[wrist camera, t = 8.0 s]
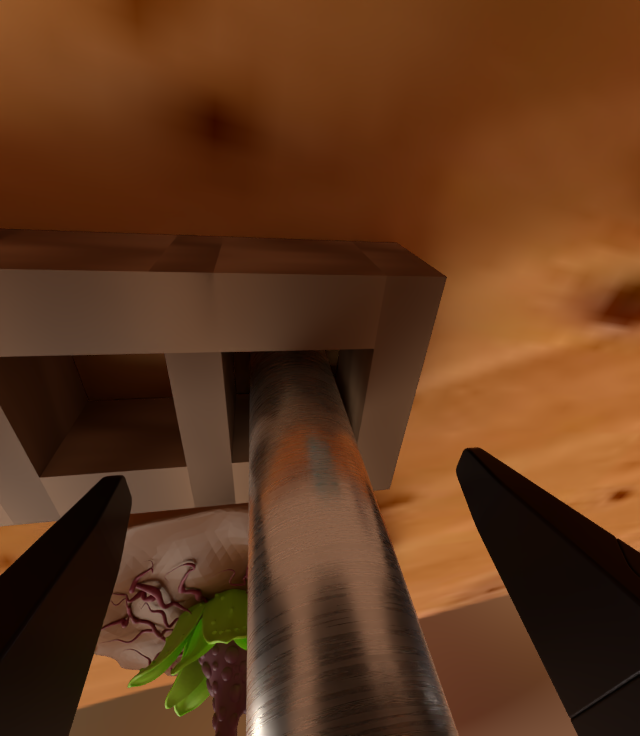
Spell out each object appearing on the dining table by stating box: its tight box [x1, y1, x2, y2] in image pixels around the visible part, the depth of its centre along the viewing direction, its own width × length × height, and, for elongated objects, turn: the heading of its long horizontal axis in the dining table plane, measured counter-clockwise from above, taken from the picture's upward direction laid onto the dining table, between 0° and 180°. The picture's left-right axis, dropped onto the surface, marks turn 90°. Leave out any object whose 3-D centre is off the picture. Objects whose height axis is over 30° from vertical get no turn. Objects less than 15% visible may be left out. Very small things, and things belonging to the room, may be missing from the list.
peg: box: [246, 350, 459, 736], centre depth 10 cm, size 3×3×12 cm
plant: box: [94, 503, 249, 736], centre depth 19 cm, size 20×20×11 cm
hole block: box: [0, 229, 447, 526], centre depth 12 cm, size 20×9×4 cm, turn 86°
